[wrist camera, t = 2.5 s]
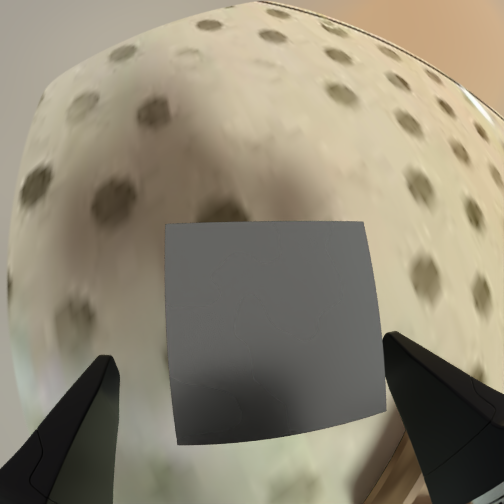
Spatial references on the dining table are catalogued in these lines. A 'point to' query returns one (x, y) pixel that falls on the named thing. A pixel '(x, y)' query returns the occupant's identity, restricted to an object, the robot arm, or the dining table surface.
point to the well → (401, 479)
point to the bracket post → (270, 329)
